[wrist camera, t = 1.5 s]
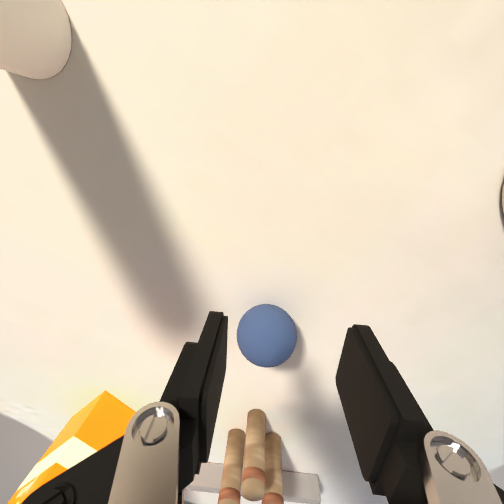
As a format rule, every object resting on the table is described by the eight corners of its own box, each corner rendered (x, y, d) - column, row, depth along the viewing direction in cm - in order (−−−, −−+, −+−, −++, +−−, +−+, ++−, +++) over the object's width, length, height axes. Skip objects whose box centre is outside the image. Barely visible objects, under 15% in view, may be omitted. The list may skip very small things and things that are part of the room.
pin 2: (281, 433, 35) (285, 514, 27) (279, 444, 36) (283, 526, 28) (263, 431, 35) (262, 511, 27) (262, 443, 36) (260, 524, 28)
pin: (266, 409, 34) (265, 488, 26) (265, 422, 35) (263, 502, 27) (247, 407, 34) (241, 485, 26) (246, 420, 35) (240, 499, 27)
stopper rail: (317, 474, 38) (321, 500, 35) (316, 479, 38) (319, 505, 36) (186, 460, 39) (179, 483, 36) (186, 464, 39) (179, 488, 36)
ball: (297, 295, 27) (304, 332, 21) (290, 340, 29) (295, 384, 24) (241, 290, 27) (234, 326, 22) (238, 335, 29) (231, 378, 24)
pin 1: (246, 429, 35) (239, 509, 27) (245, 441, 36) (238, 521, 28) (228, 427, 35) (216, 506, 27) (227, 439, 36) (216, 519, 28)
